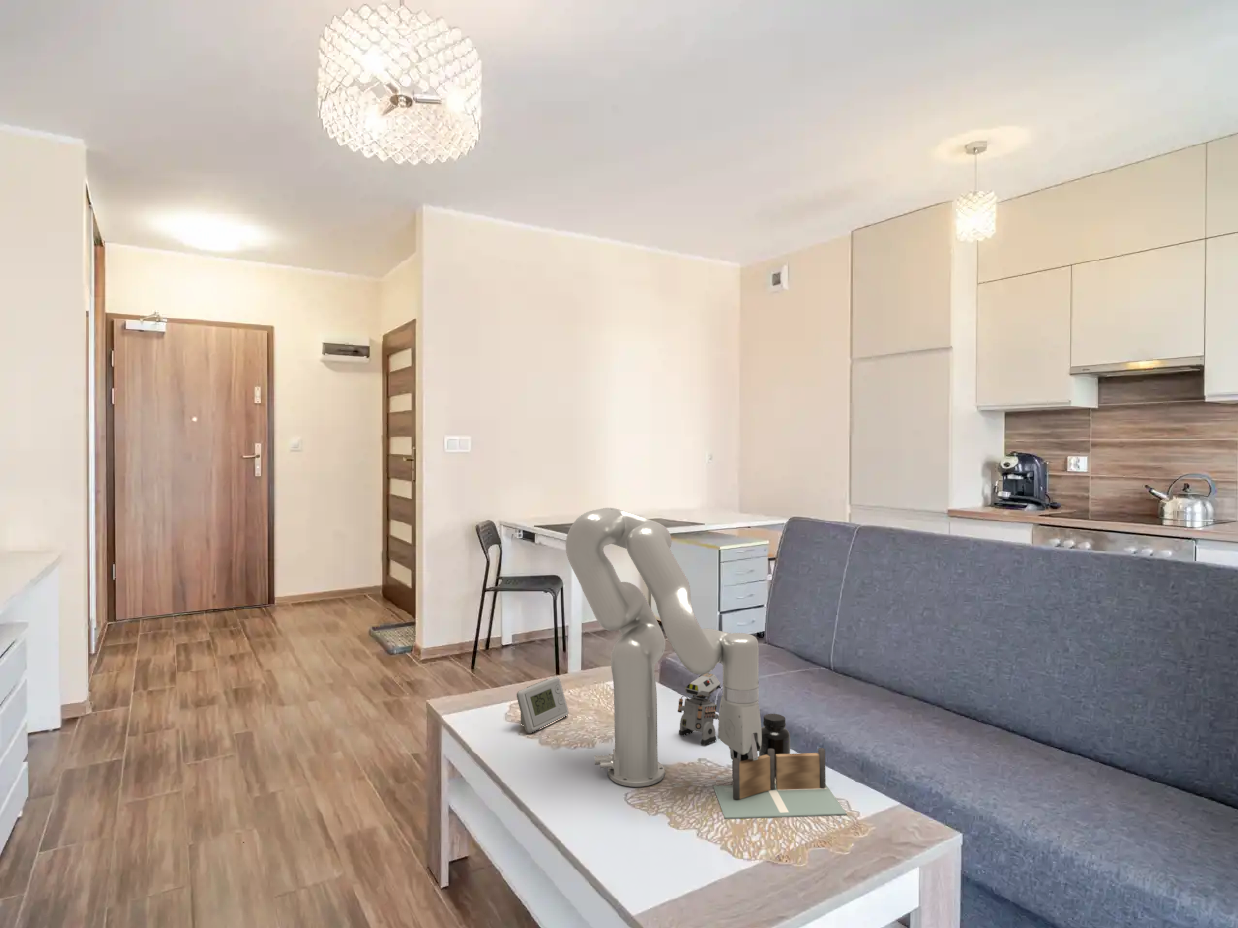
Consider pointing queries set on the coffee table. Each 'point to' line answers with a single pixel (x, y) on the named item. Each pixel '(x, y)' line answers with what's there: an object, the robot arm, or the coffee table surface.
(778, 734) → the supplement bottle
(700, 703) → the figurine
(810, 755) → the fence fixed panel
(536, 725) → the digital clock
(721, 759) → the coffee table surface
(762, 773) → the panel
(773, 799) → the board
